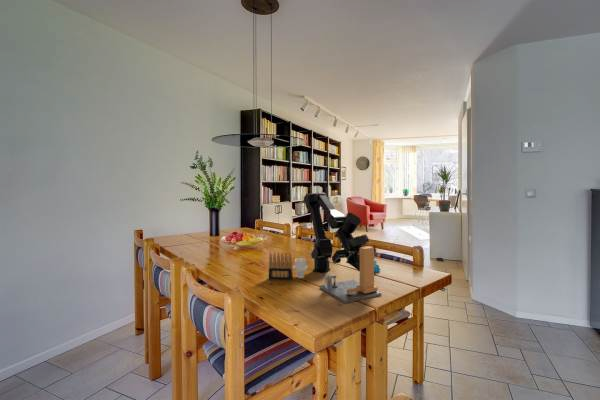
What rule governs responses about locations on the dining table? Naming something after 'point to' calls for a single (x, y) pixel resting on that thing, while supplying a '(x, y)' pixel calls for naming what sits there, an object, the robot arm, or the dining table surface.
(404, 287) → the dining table surface
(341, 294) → the plate
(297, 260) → the pipe fitting
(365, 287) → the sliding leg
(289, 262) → the ammunition clip
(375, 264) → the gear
